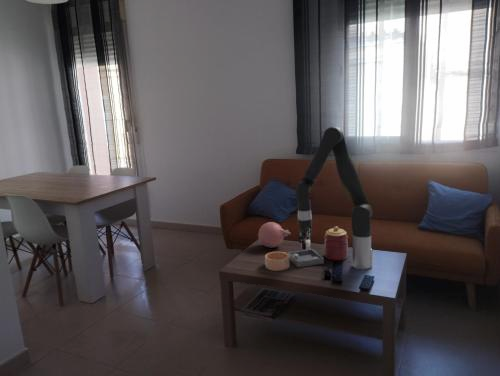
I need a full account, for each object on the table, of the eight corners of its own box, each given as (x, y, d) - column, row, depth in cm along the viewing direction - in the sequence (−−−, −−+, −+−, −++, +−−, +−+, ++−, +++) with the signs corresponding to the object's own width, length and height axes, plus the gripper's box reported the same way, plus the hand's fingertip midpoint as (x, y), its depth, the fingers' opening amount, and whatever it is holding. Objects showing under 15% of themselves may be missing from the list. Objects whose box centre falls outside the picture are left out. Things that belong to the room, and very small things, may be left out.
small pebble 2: (317, 259, 225) (317, 256, 225) (319, 261, 222) (319, 258, 222) (311, 260, 225) (311, 257, 224) (313, 262, 222) (313, 259, 221)
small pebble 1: (297, 256, 231) (297, 253, 231) (299, 258, 228) (299, 255, 228) (292, 257, 231) (291, 253, 230) (293, 259, 228) (293, 256, 227)
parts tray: (312, 253, 235) (312, 248, 235) (323, 263, 221) (323, 258, 221) (288, 257, 232) (287, 252, 231) (297, 267, 218) (297, 262, 217)
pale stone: (308, 246, 228) (308, 238, 227) (312, 249, 223) (311, 240, 222) (299, 248, 227) (299, 239, 226) (303, 251, 222) (303, 242, 221)
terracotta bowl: (284, 260, 228) (284, 250, 227) (292, 268, 216) (292, 258, 215) (262, 263, 225) (262, 253, 224) (269, 272, 213) (269, 261, 212)
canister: (347, 261, 222) (347, 230, 218) (323, 260, 225) (323, 229, 222) (348, 253, 234) (348, 223, 231) (325, 251, 238) (325, 222, 234)
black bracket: (320, 272, 212) (320, 263, 211) (335, 273, 210) (335, 264, 209) (319, 282, 200) (319, 273, 199) (334, 283, 198) (334, 274, 197)
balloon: (286, 253, 238) (285, 228, 235) (254, 249, 246) (253, 225, 243) (294, 244, 252) (294, 220, 248) (264, 241, 260) (263, 218, 257)
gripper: (303, 214, 229) (304, 243, 233) (292, 220, 217) (294, 251, 221) (316, 215, 226) (317, 244, 229) (306, 222, 213) (307, 253, 217)
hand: (305, 247), depth 225 cm, fingers closed on pale stone, 5 cm apart
